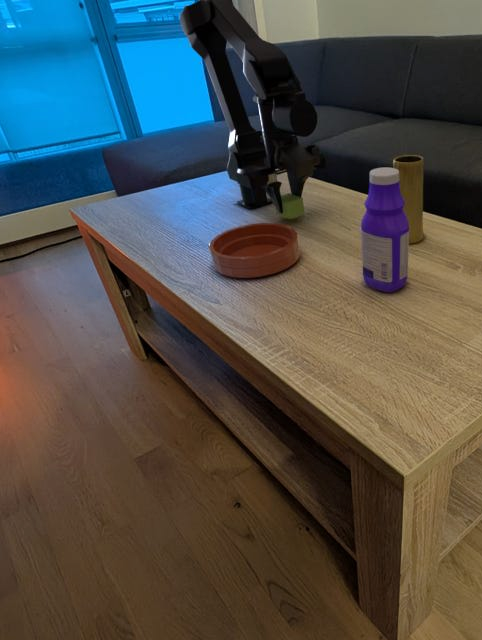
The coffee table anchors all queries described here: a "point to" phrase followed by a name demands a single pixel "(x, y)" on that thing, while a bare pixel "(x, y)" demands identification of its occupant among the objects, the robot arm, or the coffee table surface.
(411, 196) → the vase
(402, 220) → the bottle
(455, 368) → the coffee table surface
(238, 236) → the bowl
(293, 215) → the sponge
